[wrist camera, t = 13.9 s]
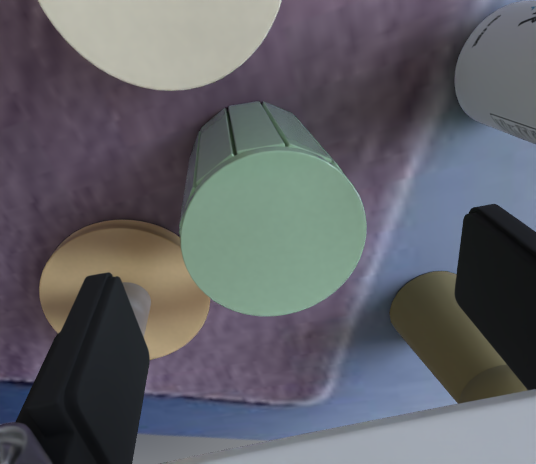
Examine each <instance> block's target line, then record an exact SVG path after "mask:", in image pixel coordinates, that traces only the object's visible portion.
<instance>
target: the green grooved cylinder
mask: <svg viewBox="0 0 536 464" xmlns="http://www.w3.org/2000/svg"><path fill="white" fill-rule="evenodd" d="M228 110H229V112H228V111H227V109H226V108H224V109H222V110H221V111H220V112H219V113H218V114H217V115H215V116H214V117H213V118H212V119H211V120H210V121H208V122H207V123H206V124H205V125H204V126H202V127H201V131H199V132H198V135H197V138H196V141H195V144H194V147H193V150H192V153H191V156H190V159H189V166H188V172H187V178H186V185H185V191H184V197H183V204H182V210H181V216H180V223H179V227H180V228H179V235H180V244H181V252H182V257H183V261H184V263H185V266H186V269H187V271H188V272H189V274H190V276H191V278H192V279H193V281H194V282H195V283H196V285H197V286H198V287H199V288H200V289H201V290H202V291H203V292H204V293H205V294H206V295H207V296H208V297H210V298H211V299H212V300H213V301H215V302H217V303H218V304H220V305H222V306H224V307H226V308H228V309H230V310H233V311H236V312H239V313H243V314H248V315H253V316H280V315H287V314H291V313H295V312H298V311H301V310H304V309H307V308H309V307H311V306H313V305H315V304H318V303H319V302H321V301H322V300H324V299H326V298H327V297H329V296H330V295H331V294H332V293H334V292H335V291H336V290H337V289H338V288H339V287H340V286H341V285H342V284H343V283H344V282H345V281H346V280H347V279H348V277H349V276H350V275H351V273H352V272H353V270H354V269H355V267H356V265H357V263H358V261H359V259H360V257H361V254H362V251H363V248H364V244H365V239H366V226H367V225H366V215H365V211H364V207H363V203H362V201H361V199H360V196H359V194H358V192H357V191H356V189H355V187H354V186H353V184H352V183H351V182H350V181H349V180H348V178H347V177H346V176H345V174H344V173H343V171H342V170H341V169H340V167H339V166H338V165H337V163H336V162H335V161H334V160H333V159H332V157H331V156H330V155H329V154H328V153H327V152H326V151H325V149H324V148H323V147H322V146H321V145H320V144H319V142H318V141H317V140H316V139H315V138H314V137H313V136H312V134H311V133H310V132H309V131H308V130H307V129H306V128H305V126H304V125H303V124H302V123H301V122H300V121H299V120H298V118H297V117H296V116H295V115H293V114H292V113H291V112H289V111H286V110H284V109H281V108H279V107H276V106H274V105H271V104H269V103H266V102H262V105H261V103H260V101H256V102H250V103H244V104H237V105H231V106H228Z"/></svg>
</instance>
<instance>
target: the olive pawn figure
mask: <svg viewBox="0 0 536 464" xmlns="http://www.w3.org/2000/svg"><path fill="white" fill-rule="evenodd" d="M456 275H457V274H454V273H450V272H447V271H436V272H430V273H427V274H423V275H420V276H418V277H417V278H415V279H413V280H411V281H410V282H408V283H407V284H406V285H405V286H404V287H403V288H402V289H401V290H400V291H399V292H398V293H397V295H396V296H395V298H394V300H393V301H392V304H391V308H390V319H391V323H392V325H393V326H394V328H395V329H396V331H397V332H398V333H399V334H400V335H401V337H402V338H403V339H404V340H405V341H406V342H407V344H408V345H409V346H410V347H411V348H412V350H413V351H414V352H415V353H416V354H417V356H418V357H419V358H420V359H421V360H422V361H423V363H424V364H425V365H426V366H427V367H428V369H429V370H430V371H431V372H432V373H433V375H434V376H435V377H436V378H437V379H438V380H439V382H440V383H441V384H442V385H443V386H444V388H445V389H446V390H447V391H448V392H449V394H450V395H451V396H452V397H453V398H454V399H455V401H456V402H457V403H458V404H460V403H465V402H470V401H475V400H481V399H486V398H491V397H496V396H502V395H507V394H512V393H517V392H523V391H528V390H527V389H526V387H525V386H524V385H523V384H522V382H521V381H520V380H519V379H518V378H517V376H516V375H515V374H514V373H513V371H512V370H511V369H510V368H509V366H508V365H507V364H506V363H505V362H504V360H503V359H502V358H501V357H500V355H499V354H498V353H497V352H496V351H495V349H494V348H493V347H492V346H491V344H490V343H489V342H488V341H487V339H486V338H485V337H484V336H483V335H482V333H481V332H480V331H479V330H478V328H477V327H476V326H475V325H474V324H473V322H472V321H471V320H470V319H469V317H468V316H467V315H466V314H465V313H464V311H463V310H462V309H461V308H460V306H459V305H458V304H457V301H456V299H455V294H454V293H455V283H456Z"/></svg>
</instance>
